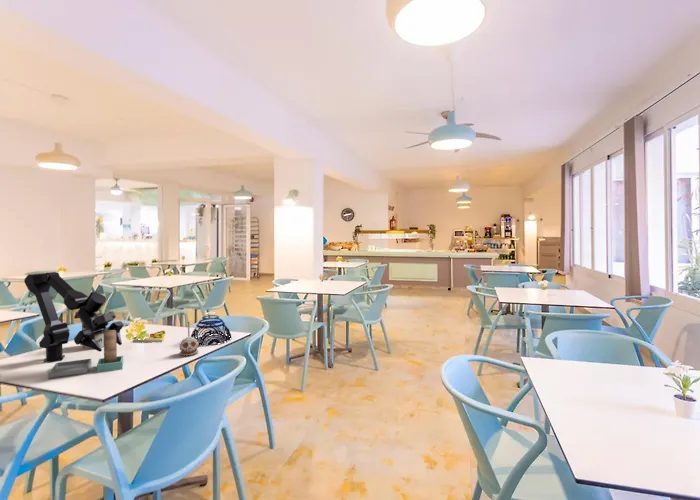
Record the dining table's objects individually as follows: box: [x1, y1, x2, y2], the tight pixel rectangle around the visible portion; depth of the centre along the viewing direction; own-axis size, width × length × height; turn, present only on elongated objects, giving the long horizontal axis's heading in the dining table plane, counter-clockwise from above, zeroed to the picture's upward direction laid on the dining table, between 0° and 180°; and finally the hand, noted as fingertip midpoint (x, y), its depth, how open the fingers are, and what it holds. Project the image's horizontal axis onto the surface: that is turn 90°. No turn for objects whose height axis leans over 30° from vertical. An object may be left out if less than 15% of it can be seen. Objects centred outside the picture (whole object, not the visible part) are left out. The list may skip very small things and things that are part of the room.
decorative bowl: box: [190, 311, 232, 345], centre depth 198 cm, size 20×20×14 cm
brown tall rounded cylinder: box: [103, 330, 118, 364], centre depth 157 cm, size 4×4×15 cm
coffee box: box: [81, 312, 105, 350], centre depth 186 cm, size 9×6×16 cm
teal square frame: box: [96, 355, 124, 373], centre depth 158 cm, size 9×9×3 cm
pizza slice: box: [132, 330, 167, 344], centre depth 204 cm, size 16×21×3 cm
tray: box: [47, 358, 93, 380], centre depth 154 cm, size 14×12×2 cm
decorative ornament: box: [179, 321, 199, 357], centre depth 175 cm, size 8×8×15 cm
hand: (111, 347), depth 157 cm, fingers open, 9 cm apart
